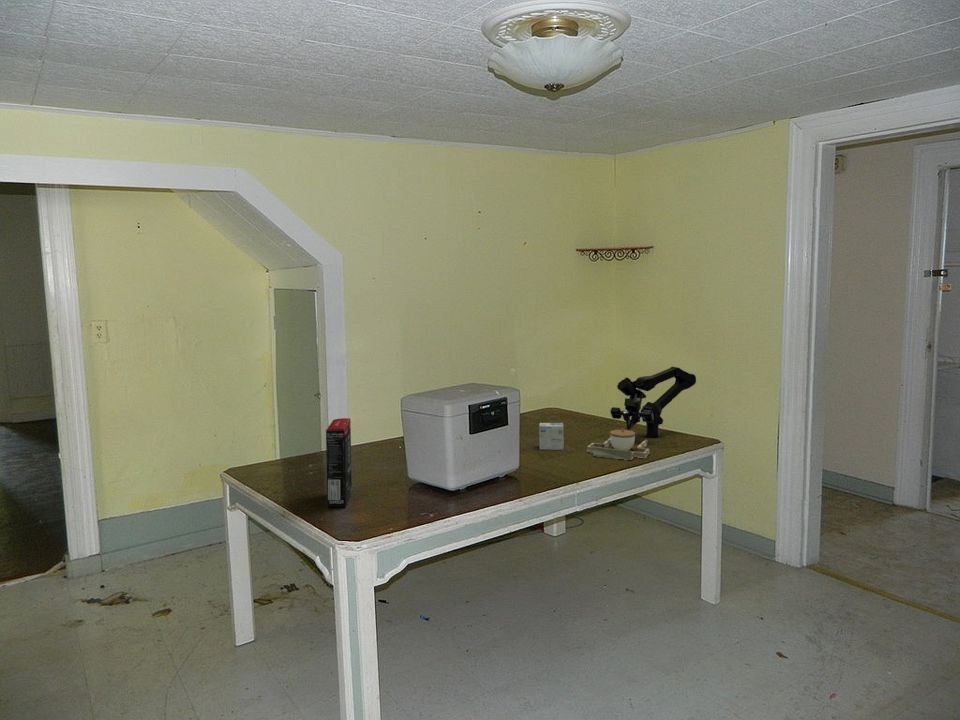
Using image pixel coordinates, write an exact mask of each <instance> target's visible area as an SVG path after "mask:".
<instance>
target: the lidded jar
mask: <svg viewBox="0 0 960 720" xmlns="http://www.w3.org/2000/svg"><path fill="white" fill-rule="evenodd" d="M609 434H610V435H609V436H610V437H609V438H610V440H611V446H612V447H613V449H619V450H629V451H631V449H632V448H633V447H634V445H635V441H636V432H635V431H633V430H631V429H630V430H627V429H625V428H623V427H622V428H621V429H612V430H610V431H609Z"/></svg>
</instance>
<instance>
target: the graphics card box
mask: <svg viewBox="0 0 960 720" xmlns="http://www.w3.org/2000/svg"><path fill="white" fill-rule="evenodd" d="M351 422H352V420H351V418H347V417H346V418H344V417H343V418H335V419H333V420H332V421H331V422H330V424H329V426H328V427H327V428H326V430H325V444H326V445H325V447H326V448H325V451H326V455H325V456H326V458H325V459H326V495H327V497H326V499H327V500H326V501H327V503H326V505H327V506H326V507H327V508H346V507H347V505H348V503H349V500H350V497H351V495H352V492H353V490H352V435H351V434H352V431H351V430H352V429H351V428H352V427H351Z"/></svg>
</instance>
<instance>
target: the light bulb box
mask: <svg viewBox="0 0 960 720" xmlns="http://www.w3.org/2000/svg"><path fill="white" fill-rule="evenodd" d="M538 432H539V433H538V435H539V439H538V440H539V450H548V451H549V450H551V451H552V450H555V451H556V450H557V451H559V450H562V451H564V446H565V443H564V441H565V439H564V434H565V433H564V432H565V431H564V422H539V430H538Z"/></svg>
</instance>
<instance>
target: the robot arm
mask: <svg viewBox="0 0 960 720" xmlns="http://www.w3.org/2000/svg"><path fill="white" fill-rule="evenodd" d="M673 378H674V379H675V381H674V383H673V384H672V385H671V386H670V387H669V388H668V389H667V390H666V391H665V392H664V393H662V394H661V396H660V397H658V398H657V399H656V400H655V401H653V402H651V401H647V402H646V403H645V404H644V405H643V406H641V405H642V401H643V399H646V398H647V395H646V394H645V392H650V391H651V390H653V389H654V388H656V386H657V385H659V384H661V383H663V382H665V381H668V380H671V379H673ZM696 383H697V377H696V375H695V374H693V373H690V372H687V371H685V370H683V369H682V368H680V367H677V366H671V367H669V368H667V369H664V370H662V371H660V372H656V373H655V374H652V375H645V376H639V377H638V378H636V380H634V381H632V380H631V379H630V378H629V377H625V378H624V379H621V381H619V382H617V385H616V388H617V389H618V390H619V391H620V393H622V394H623V395H625V396H626V397H627V398H624V404H623V405H624V406H625V407H624V409H623V410H622V409H621V407H615V406H613V407H611V408H610V411H609V412H610V414H611V417H612V419H615V420H620V419H621V418H622V419H623V421H625V423H626V430H630V431H631V429H632V428H633V427H634V426H635V425H636V424H637V423H640V422H641V420H642V422H643V423H646V424H645V434H643V437H647V438H659V437H660V436H661V433H659V430H660V427H659V426H660V425H663V423H664V419H663V418H662V416H661V414H662V412H663V409H664V408H665V407H666V406H668V405H669V404H670V403H671V402H672V401H673V400H674V399H675V398H676V397H677V396H678V395H680V393H681V392H683V391H685V390H688V389H690V388H692V387H693V386H695V385H696ZM628 397H629V398H628ZM641 407H642V408H641Z"/></svg>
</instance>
